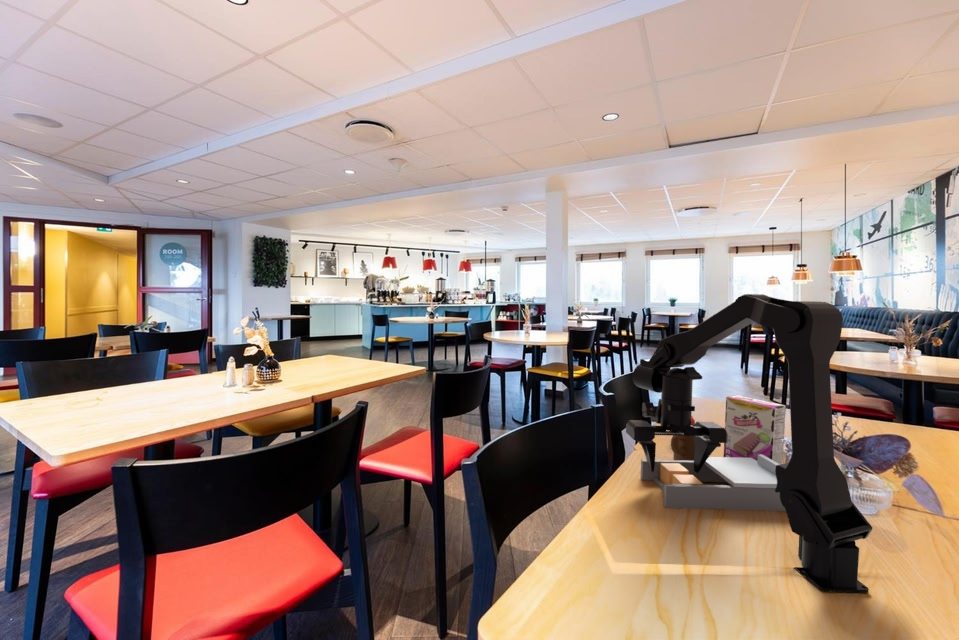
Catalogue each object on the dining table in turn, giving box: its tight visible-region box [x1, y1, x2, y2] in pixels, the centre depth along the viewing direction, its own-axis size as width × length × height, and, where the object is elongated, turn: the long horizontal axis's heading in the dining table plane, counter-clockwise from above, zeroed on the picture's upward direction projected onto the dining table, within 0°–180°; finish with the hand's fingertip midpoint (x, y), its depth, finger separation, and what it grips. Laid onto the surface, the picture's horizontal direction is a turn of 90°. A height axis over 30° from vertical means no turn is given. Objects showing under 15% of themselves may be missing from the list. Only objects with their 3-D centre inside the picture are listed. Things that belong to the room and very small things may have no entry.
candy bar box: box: [723, 394, 787, 464], centre depth 97 cm, size 11×5×16 cm, turn 27°
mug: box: [670, 424, 695, 461], centre depth 96 cm, size 12×8×9 cm, turn 124°
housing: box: [640, 459, 786, 512], centre depth 82 cm, size 13×24×5 cm, turn 88°
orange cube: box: [660, 463, 689, 484], centre depth 85 cm, size 4×4×4 cm
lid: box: [704, 455, 780, 488], centre depth 82 cm, size 13×11×3 cm
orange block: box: [672, 474, 704, 485], centre depth 79 cm, size 4×4×4 cm
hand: (673, 471), depth 85 cm, fingers open, 9 cm apart
